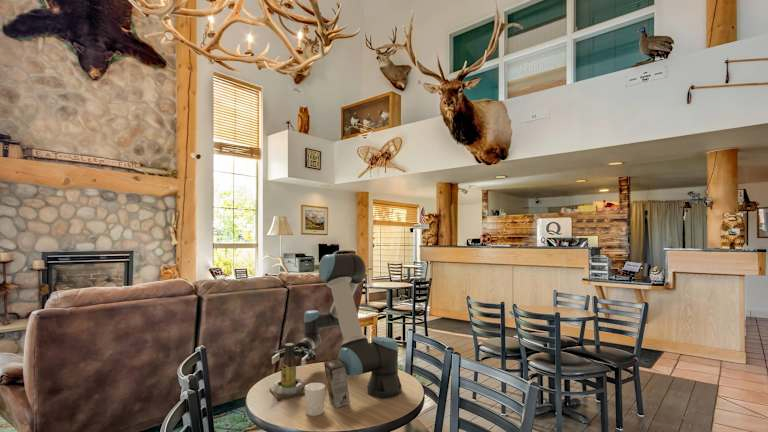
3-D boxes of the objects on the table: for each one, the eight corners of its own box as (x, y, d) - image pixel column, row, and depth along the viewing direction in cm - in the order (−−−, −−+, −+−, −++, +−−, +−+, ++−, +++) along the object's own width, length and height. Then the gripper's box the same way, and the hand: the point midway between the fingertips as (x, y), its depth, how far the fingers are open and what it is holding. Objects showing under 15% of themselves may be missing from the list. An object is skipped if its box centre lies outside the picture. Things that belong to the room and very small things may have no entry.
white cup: (320, 417, 156) (320, 391, 156) (301, 415, 157) (301, 389, 157) (327, 408, 163) (327, 383, 164) (308, 407, 165) (309, 381, 165)
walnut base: (307, 394, 177) (307, 392, 177) (277, 400, 170) (277, 398, 171) (297, 384, 188) (297, 382, 188) (269, 390, 182) (269, 387, 182)
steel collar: (305, 391, 177) (305, 384, 177) (279, 397, 172) (279, 390, 172) (296, 383, 187) (296, 376, 187) (271, 388, 181) (271, 381, 182)
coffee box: (328, 399, 172) (323, 362, 171) (343, 395, 174) (338, 357, 174) (335, 408, 163) (330, 369, 163) (350, 403, 166) (345, 364, 166)
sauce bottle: (279, 388, 181) (280, 342, 182) (294, 386, 184) (295, 341, 184) (282, 393, 175) (283, 346, 176) (296, 391, 178) (297, 345, 179)
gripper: (329, 356, 198) (314, 372, 177) (280, 354, 202) (260, 368, 181) (329, 341, 198) (314, 354, 177) (280, 338, 202) (260, 351, 181)
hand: (287, 361), depth 179 cm, fingers open, 13 cm apart
